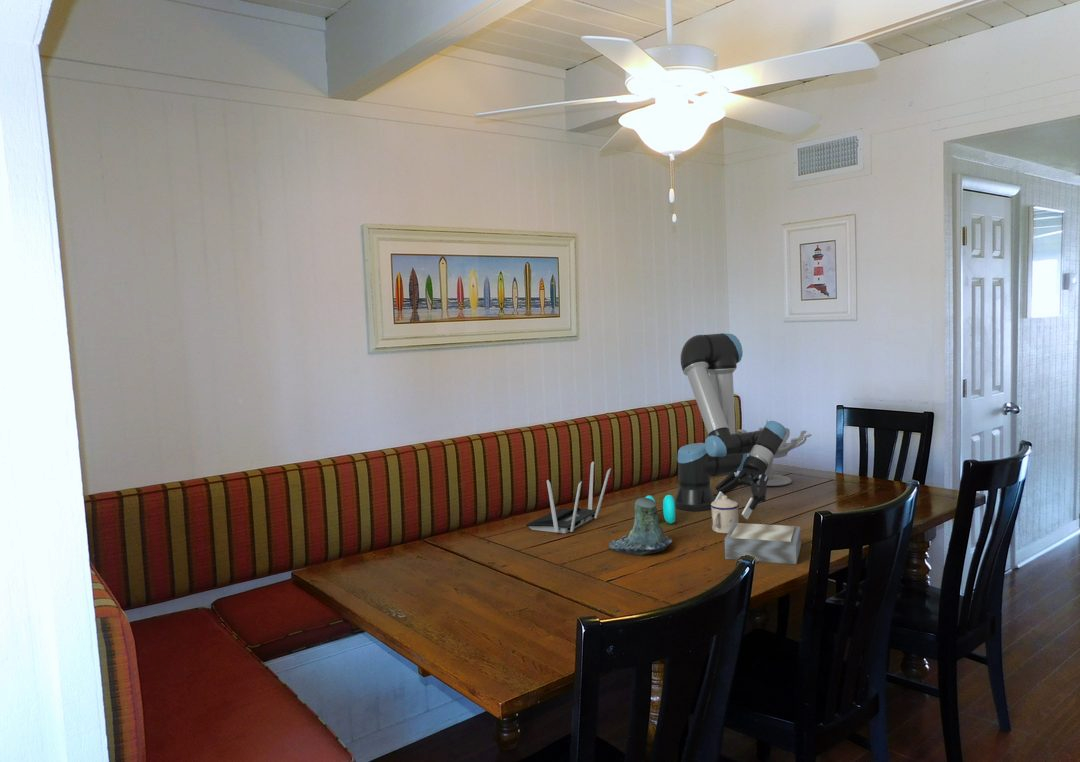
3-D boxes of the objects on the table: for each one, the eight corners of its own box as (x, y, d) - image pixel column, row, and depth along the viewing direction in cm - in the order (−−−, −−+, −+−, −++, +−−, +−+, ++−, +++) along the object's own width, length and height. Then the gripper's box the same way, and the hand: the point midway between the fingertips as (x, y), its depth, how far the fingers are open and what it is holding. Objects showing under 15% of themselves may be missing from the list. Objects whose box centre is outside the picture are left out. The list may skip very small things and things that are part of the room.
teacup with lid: (719, 524, 260) (718, 491, 259) (744, 528, 254) (743, 494, 253) (702, 533, 251) (700, 499, 250) (727, 538, 245) (726, 502, 244)
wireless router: (564, 511, 289) (562, 459, 288) (619, 517, 277) (617, 463, 276) (517, 534, 261) (514, 477, 259) (576, 542, 249) (573, 482, 247)
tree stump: (651, 536, 253) (658, 484, 248) (682, 568, 234) (690, 513, 229) (598, 541, 246) (604, 488, 241) (626, 575, 228) (633, 519, 222)
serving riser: (725, 558, 224) (724, 537, 223) (734, 541, 240) (733, 521, 240) (796, 564, 216) (795, 541, 216) (800, 545, 233) (800, 525, 232)
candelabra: (830, 486, 309) (828, 420, 307) (753, 495, 300) (751, 427, 298) (782, 471, 342) (780, 411, 340) (712, 479, 333) (710, 417, 331)
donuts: (676, 526, 261) (675, 498, 260) (647, 527, 261) (645, 499, 261) (673, 519, 271) (672, 491, 270) (644, 520, 271) (643, 492, 271)
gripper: (793, 472, 249) (764, 526, 242) (735, 463, 270) (707, 512, 263) (781, 459, 246) (752, 513, 239) (724, 451, 267) (695, 500, 260)
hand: (728, 513), depth 251 cm, fingers open, 13 cm apart
